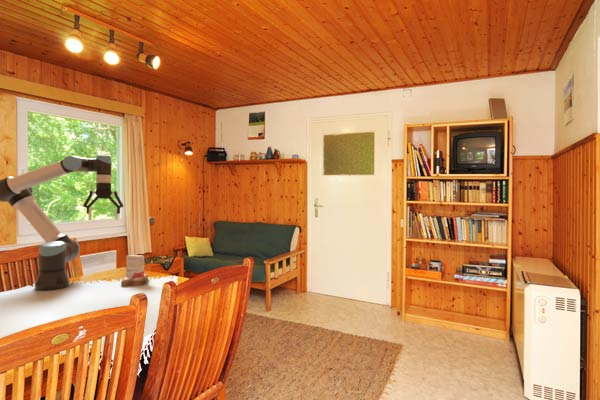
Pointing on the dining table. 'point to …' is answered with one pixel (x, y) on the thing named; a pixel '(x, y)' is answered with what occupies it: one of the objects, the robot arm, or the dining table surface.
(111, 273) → the dining table surface
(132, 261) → the ink box
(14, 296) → the dining table surface
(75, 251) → the robot arm
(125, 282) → the plinth
